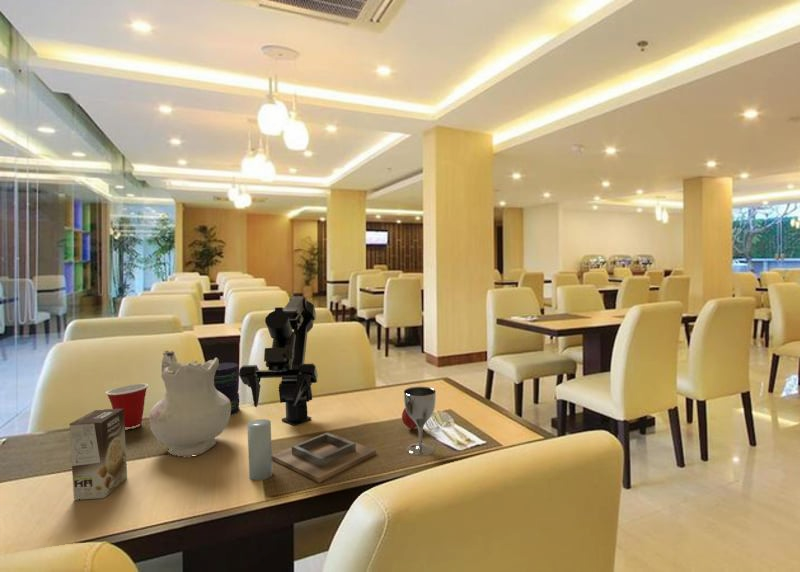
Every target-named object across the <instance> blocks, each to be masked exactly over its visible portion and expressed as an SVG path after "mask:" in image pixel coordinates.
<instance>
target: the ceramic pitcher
mask: <svg viewBox="0 0 800 572" xmlns="http://www.w3.org/2000/svg"><path fill="white" fill-rule="evenodd" d="M162 355H163V356H162V359H161V374H160V376H161V379H162V380H163V382H164V387H165V389H166V390H165V394H164V396H163V397H162V398H161V399H159V400H158V401H157V402H156V403H155V405H153V406H152V408H151V409H150V411H149V417H148V418H149V421H148V422H149V428H150V430H151V432H152V434H153V436H154V437H155V438H156V440H158V441H159V442H160V443H162V444H163V445H166V446H168V447H169V448H170V449H169V448H168V449H169V453H170V454H169V453H168V454H169V455H171V454H172V455H171V456H176V455H177V457H180V456H185V457H187V458H190V457H189V456H192V455H196V457H198V456H197V455H199V454H201V455H203V454H204V453H206V452H207V451H208V450H210V449H211V448H213V447H214V446H215V445H217V440H216V437H218V436H220V435H221V434H222V433H223V431H224V430H225V429H226V427H227V425H228V424H229V422H230V418H231V415H230V414H231V402H230V400H229V399H228V398H227V397H226V396H225V395H224V394H222V393H221V392H219V391H218V390H216V388H215V386H214V375H215V372H216V370H217V368H218V365H219V363H220V362H219V361H220V360H219V358H218V357H214V359H210V360H208V361H206V362H204V363H202V362H198V360H193V361H190V362H188V363H187V362H185V363H181V362H179V361H178V358H177V357H176V355H175V351H173V350H171V351H170V350H164V351H163V353H162ZM202 453H203V454H202ZM199 456H200V455H199ZM185 457H184V458H185Z"/></svg>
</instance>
